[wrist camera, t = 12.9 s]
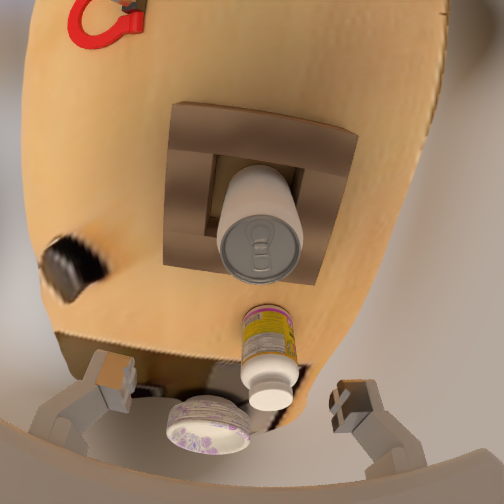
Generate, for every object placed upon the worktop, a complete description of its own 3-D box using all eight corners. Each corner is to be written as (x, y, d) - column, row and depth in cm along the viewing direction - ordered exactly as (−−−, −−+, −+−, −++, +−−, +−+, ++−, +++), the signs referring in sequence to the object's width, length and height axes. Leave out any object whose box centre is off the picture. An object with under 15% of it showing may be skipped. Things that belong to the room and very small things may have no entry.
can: (288, 162, 30) (308, 207, 19) (289, 220, 33) (305, 287, 23) (224, 165, 30) (208, 211, 20) (229, 222, 33) (219, 291, 23)
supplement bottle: (286, 339, 42) (294, 416, 31) (240, 335, 42) (237, 414, 31) (296, 304, 39) (308, 385, 28) (245, 300, 39) (242, 382, 28)
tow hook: (71, 56, 23) (145, 40, 23) (-14, 59, 12) (71, 21, 12) (76, -8, 19) (151, -28, 19) (-1, -26, 8) (88, -74, 7)
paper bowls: (263, 397, 51) (264, 434, 44) (233, 428, 58) (232, 460, 51) (182, 376, 48) (175, 415, 41) (165, 411, 55) (159, 443, 48)
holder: (183, 101, 26) (172, 104, 23) (344, 128, 28) (358, 135, 24) (172, 243, 34) (162, 264, 31) (308, 262, 36) (314, 285, 32)
